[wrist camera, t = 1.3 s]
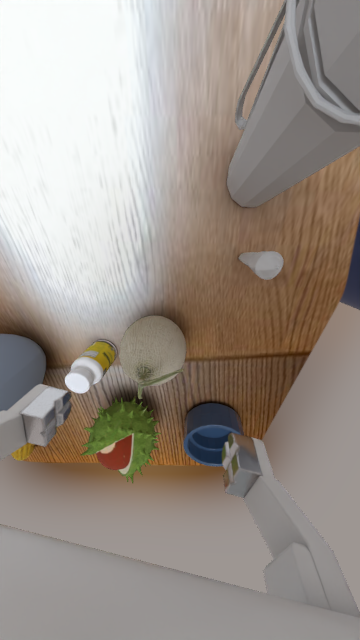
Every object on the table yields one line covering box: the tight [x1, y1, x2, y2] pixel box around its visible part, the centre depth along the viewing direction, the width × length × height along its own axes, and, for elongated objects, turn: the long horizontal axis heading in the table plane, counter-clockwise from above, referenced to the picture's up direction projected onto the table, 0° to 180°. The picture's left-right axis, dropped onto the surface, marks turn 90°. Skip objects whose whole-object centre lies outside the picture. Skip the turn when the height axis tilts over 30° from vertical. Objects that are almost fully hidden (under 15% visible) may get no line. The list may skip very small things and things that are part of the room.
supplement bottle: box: [65, 340, 117, 393], centre depth 33 cm, size 5×5×10 cm
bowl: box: [184, 403, 244, 466], centre depth 40 cm, size 13×13×6 cm
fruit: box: [119, 315, 186, 399], centre depth 28 cm, size 10×12×15 cm
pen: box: [238, 251, 284, 280], centre depth 22 cm, size 2×3×14 cm
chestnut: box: [81, 396, 161, 483], centre depth 37 cm, size 15×14×15 cm
